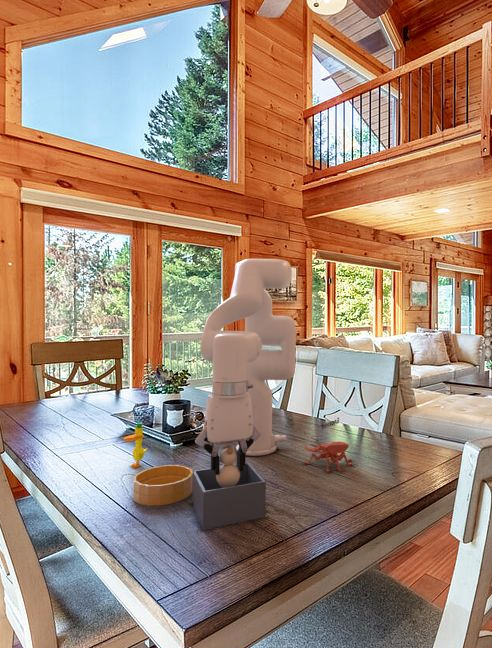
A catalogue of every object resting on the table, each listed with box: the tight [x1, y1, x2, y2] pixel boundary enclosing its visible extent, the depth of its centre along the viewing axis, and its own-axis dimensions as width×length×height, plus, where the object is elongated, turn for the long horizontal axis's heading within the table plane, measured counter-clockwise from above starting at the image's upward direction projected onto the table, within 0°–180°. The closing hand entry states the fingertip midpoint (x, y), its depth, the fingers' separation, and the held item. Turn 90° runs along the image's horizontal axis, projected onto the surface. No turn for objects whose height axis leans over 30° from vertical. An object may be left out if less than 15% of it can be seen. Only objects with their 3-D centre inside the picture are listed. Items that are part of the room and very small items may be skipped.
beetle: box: [303, 417, 354, 473], centre depth 131 cm, size 15×12×13 cm
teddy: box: [216, 444, 240, 488], centre depth 100 cm, size 5×5×9 cm
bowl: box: [132, 464, 194, 507], centre depth 107 cm, size 13×13×5 cm
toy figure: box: [122, 422, 148, 469], centre depth 126 cm, size 7×4×12 cm, turn 138°
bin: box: [191, 461, 267, 531], centre depth 100 cm, size 13×13×8 cm
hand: (228, 470), depth 100 cm, fingers closed on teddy, 4 cm apart
